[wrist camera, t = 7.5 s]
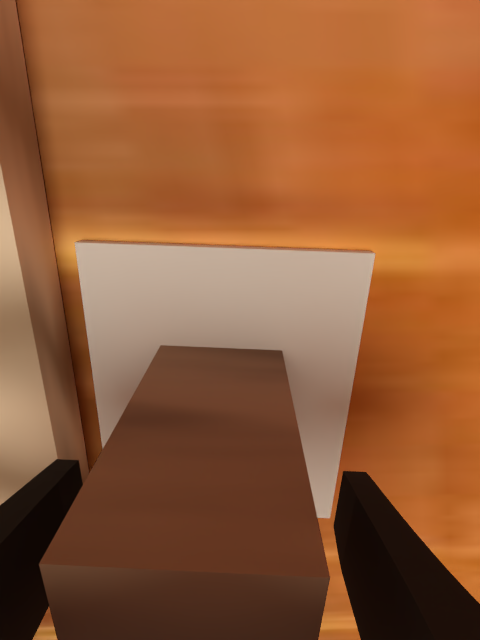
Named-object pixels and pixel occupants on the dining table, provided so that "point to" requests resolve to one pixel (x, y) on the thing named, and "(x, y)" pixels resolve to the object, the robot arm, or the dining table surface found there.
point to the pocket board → (29, 294)
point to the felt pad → (231, 325)
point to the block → (194, 512)
